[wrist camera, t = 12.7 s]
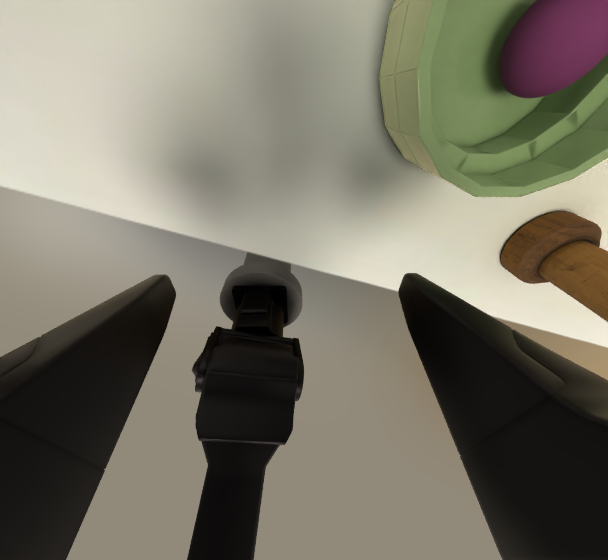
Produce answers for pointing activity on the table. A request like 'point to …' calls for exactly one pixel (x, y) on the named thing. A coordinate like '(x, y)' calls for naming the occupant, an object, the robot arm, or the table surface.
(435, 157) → the green bowl
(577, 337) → the table surface
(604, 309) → the mortar and pestle
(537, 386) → the robot arm
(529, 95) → the ball
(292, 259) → the table surface
